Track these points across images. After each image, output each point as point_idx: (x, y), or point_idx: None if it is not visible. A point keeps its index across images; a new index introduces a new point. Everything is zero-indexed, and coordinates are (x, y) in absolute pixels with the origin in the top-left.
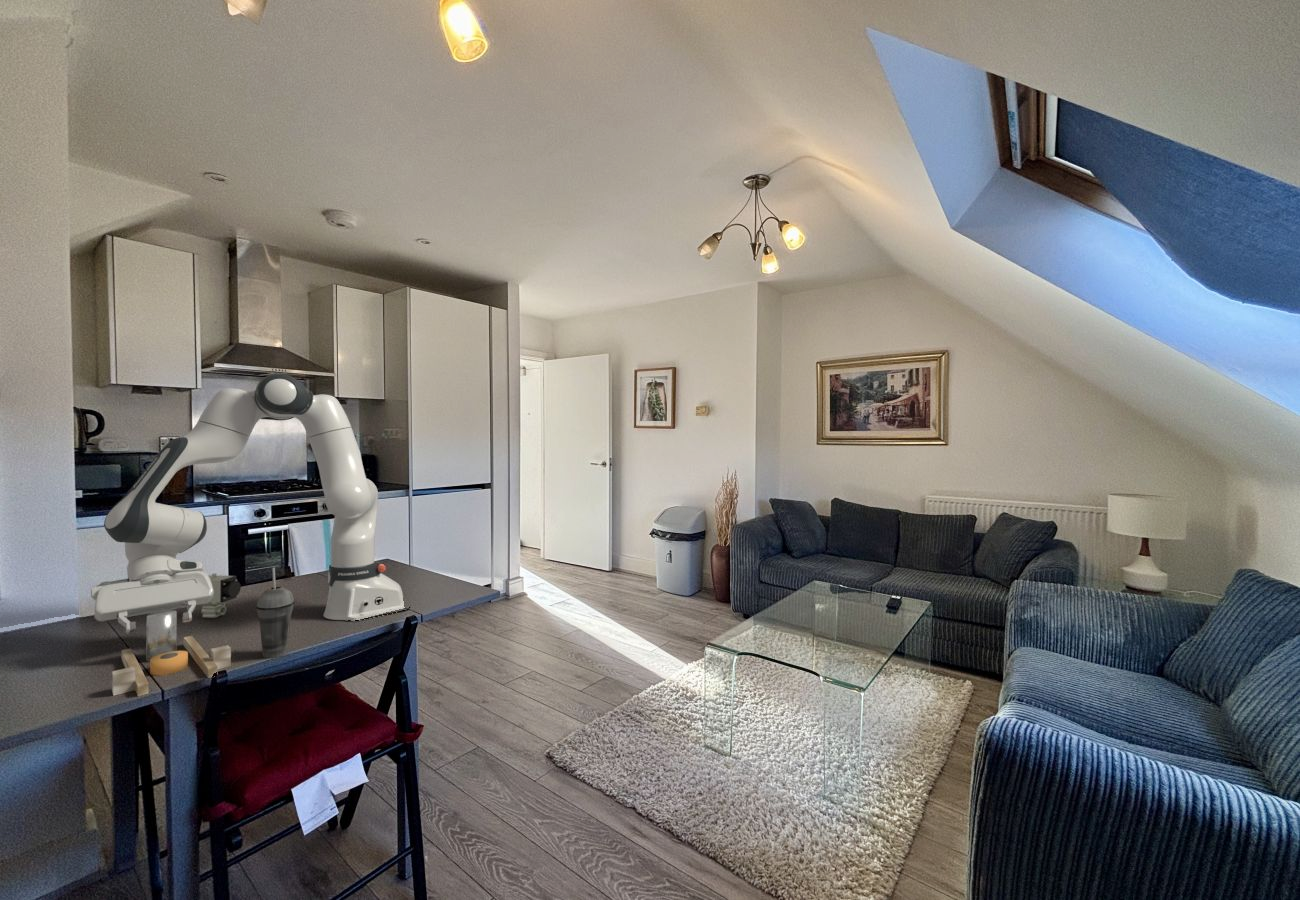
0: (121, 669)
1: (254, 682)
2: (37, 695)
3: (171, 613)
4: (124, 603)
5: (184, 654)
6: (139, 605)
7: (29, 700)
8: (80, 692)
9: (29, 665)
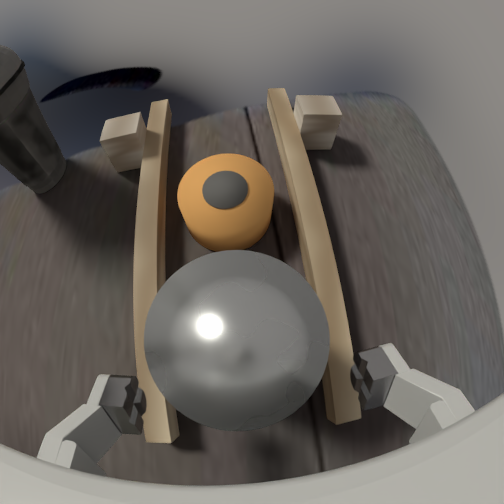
0: (326, 114)
1: (131, 77)
2: (452, 230)
3: (178, 286)
4: (491, 451)
5: (188, 177)
6: (400, 459)
7: (452, 211)
8: (388, 188)
9: None
